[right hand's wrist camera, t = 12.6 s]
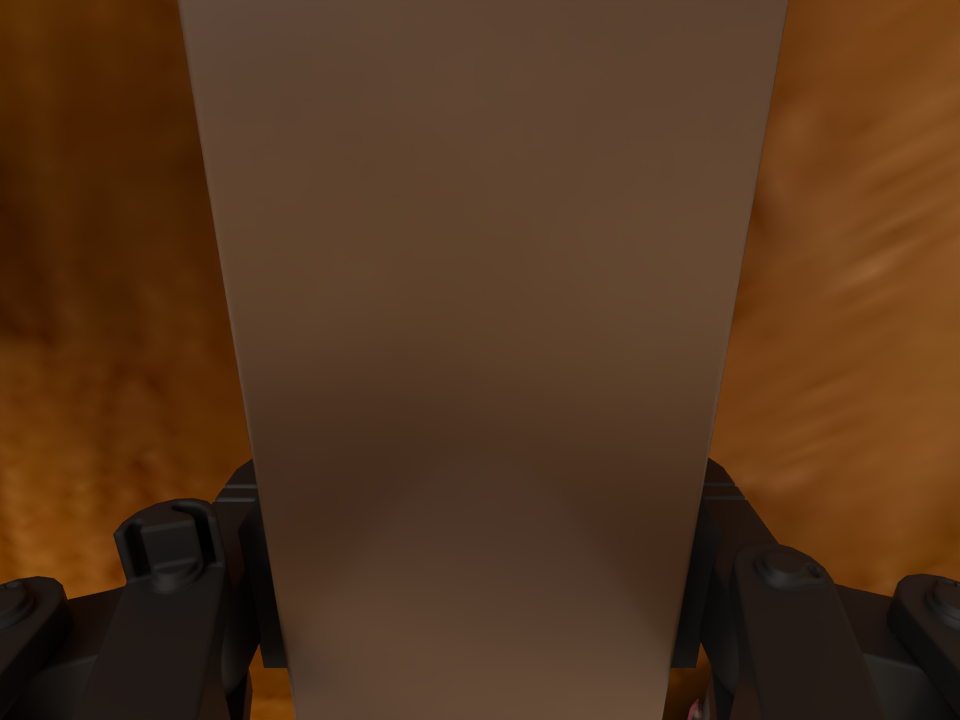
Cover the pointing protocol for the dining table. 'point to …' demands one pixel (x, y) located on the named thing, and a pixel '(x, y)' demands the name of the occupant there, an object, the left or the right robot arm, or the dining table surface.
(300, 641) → the beam
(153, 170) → the dining table surface
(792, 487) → the dining table surface
